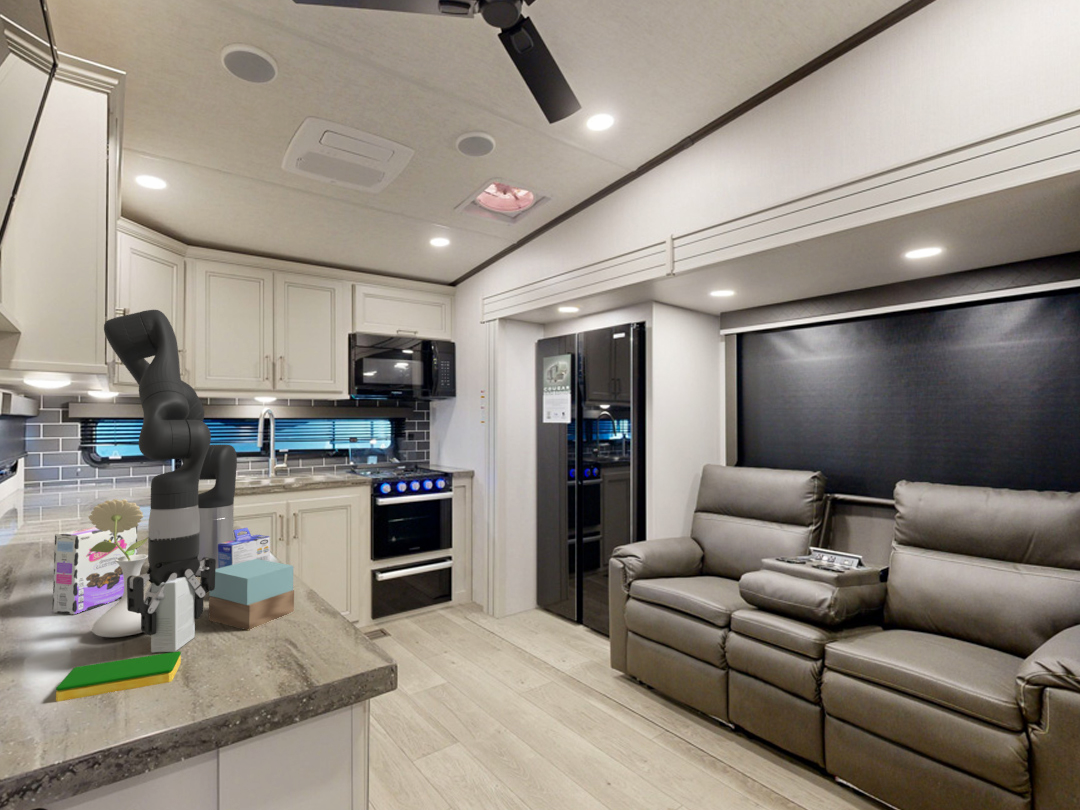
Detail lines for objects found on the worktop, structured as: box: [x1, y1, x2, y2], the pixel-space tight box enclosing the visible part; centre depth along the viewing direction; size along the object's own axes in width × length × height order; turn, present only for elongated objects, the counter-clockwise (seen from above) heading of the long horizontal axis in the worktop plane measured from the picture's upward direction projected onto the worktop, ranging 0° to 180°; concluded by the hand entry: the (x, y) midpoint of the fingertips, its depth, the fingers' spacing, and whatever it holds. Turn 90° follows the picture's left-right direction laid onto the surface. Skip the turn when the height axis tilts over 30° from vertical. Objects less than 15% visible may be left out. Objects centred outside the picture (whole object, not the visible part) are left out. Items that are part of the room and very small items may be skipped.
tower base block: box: [208, 589, 295, 631], centre depth 108 cm, size 10×12×5 cm
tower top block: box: [208, 559, 294, 605], centre depth 108 cm, size 10×12×5 cm
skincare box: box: [150, 577, 196, 654], centre depth 94 cm, size 6×4×12 cm
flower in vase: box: [88, 498, 148, 638], centre depth 101 cm, size 13×11×25 cm
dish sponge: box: [55, 650, 182, 703], centre depth 81 cm, size 7×14×2 cm, turn 114°
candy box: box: [52, 526, 138, 615], centre depth 116 cm, size 14×6×16 cm, turn 168°
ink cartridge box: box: [218, 527, 271, 568], centre depth 123 cm, size 10×6×14 cm, turn 155°
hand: (173, 625), depth 94 cm, fingers closed on skincare box, 7 cm apart
